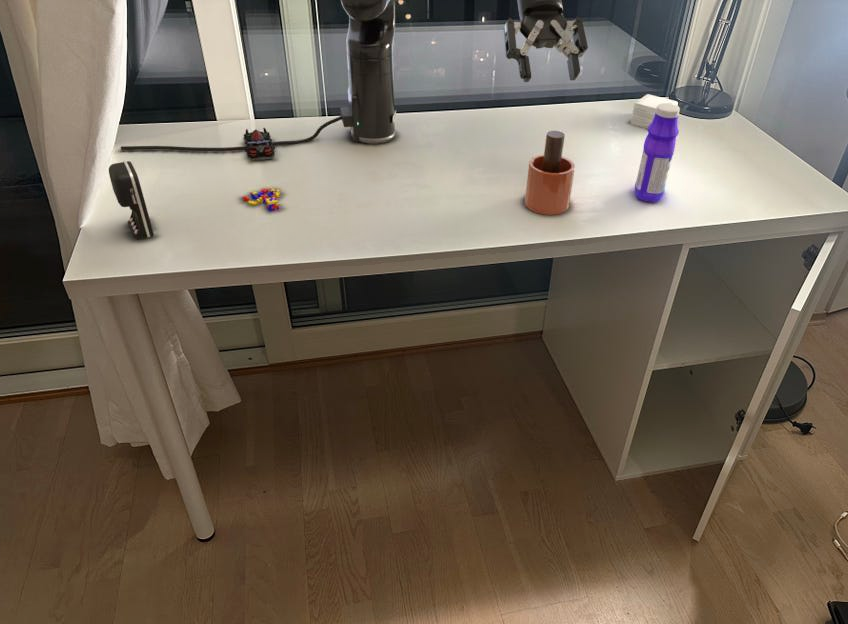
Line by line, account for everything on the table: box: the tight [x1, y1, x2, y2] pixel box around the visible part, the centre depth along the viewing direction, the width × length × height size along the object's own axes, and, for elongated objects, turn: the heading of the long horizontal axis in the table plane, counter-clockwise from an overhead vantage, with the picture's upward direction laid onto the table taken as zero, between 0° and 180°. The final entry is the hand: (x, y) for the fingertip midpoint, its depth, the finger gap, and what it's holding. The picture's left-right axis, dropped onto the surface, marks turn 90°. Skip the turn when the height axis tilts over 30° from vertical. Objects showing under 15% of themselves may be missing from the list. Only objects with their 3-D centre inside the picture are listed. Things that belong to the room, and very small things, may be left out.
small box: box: [630, 93, 679, 129], centre depth 164 cm, size 8×8×5 cm
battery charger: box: [108, 160, 155, 239], centre depth 115 cm, size 7×4×11 cm, turn 30°
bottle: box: [634, 103, 681, 203], centre depth 131 cm, size 7×6×17 cm
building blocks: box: [242, 186, 281, 212], centre depth 128 cm, size 6×8×2 cm
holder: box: [524, 154, 576, 216], centre depth 130 cm, size 8×8×8 cm
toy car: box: [242, 127, 276, 161], centre depth 144 cm, size 6×12×4 cm, turn 18°
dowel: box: [542, 130, 566, 173], centre depth 128 cm, size 3×3×13 cm
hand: (551, 79), depth 122 cm, fingers open, 8 cm apart
